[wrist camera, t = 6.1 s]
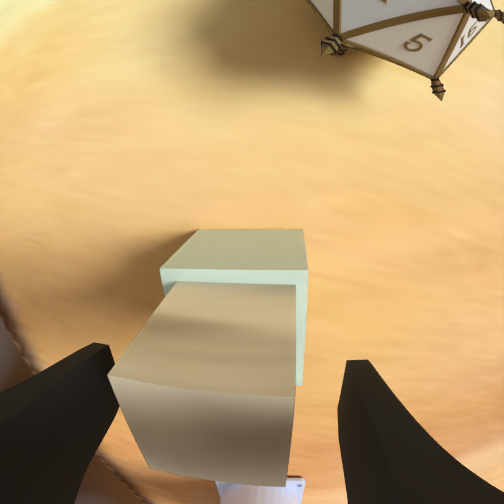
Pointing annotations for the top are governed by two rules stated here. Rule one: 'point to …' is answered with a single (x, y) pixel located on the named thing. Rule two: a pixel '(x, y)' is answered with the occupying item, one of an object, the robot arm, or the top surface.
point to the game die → (405, 30)
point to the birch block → (214, 382)
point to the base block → (246, 266)
